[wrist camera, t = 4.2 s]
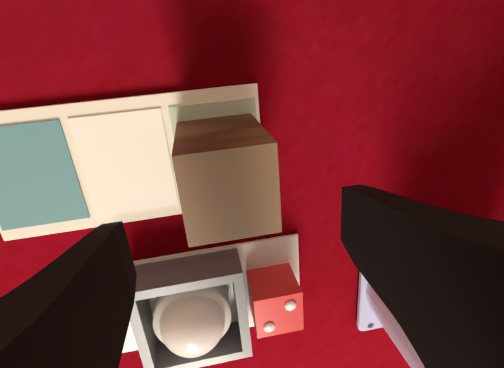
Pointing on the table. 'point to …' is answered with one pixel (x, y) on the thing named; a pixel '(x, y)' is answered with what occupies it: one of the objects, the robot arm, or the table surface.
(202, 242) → the brown wooden block
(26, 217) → the game board
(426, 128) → the table surface
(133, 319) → the dome base
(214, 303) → the dome
